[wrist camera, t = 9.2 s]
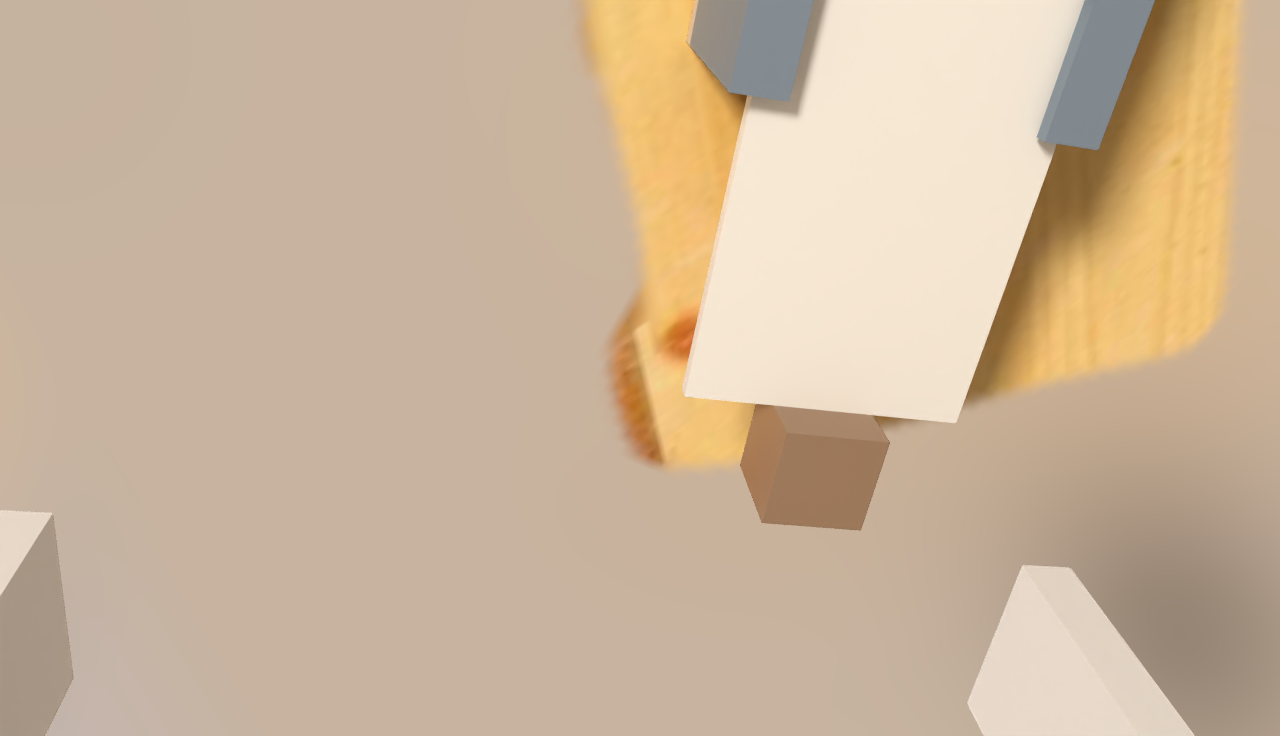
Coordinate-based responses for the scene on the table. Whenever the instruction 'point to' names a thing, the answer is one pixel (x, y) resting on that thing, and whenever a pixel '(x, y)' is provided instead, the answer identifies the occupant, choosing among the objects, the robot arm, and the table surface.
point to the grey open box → (777, 23)
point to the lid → (873, 236)
